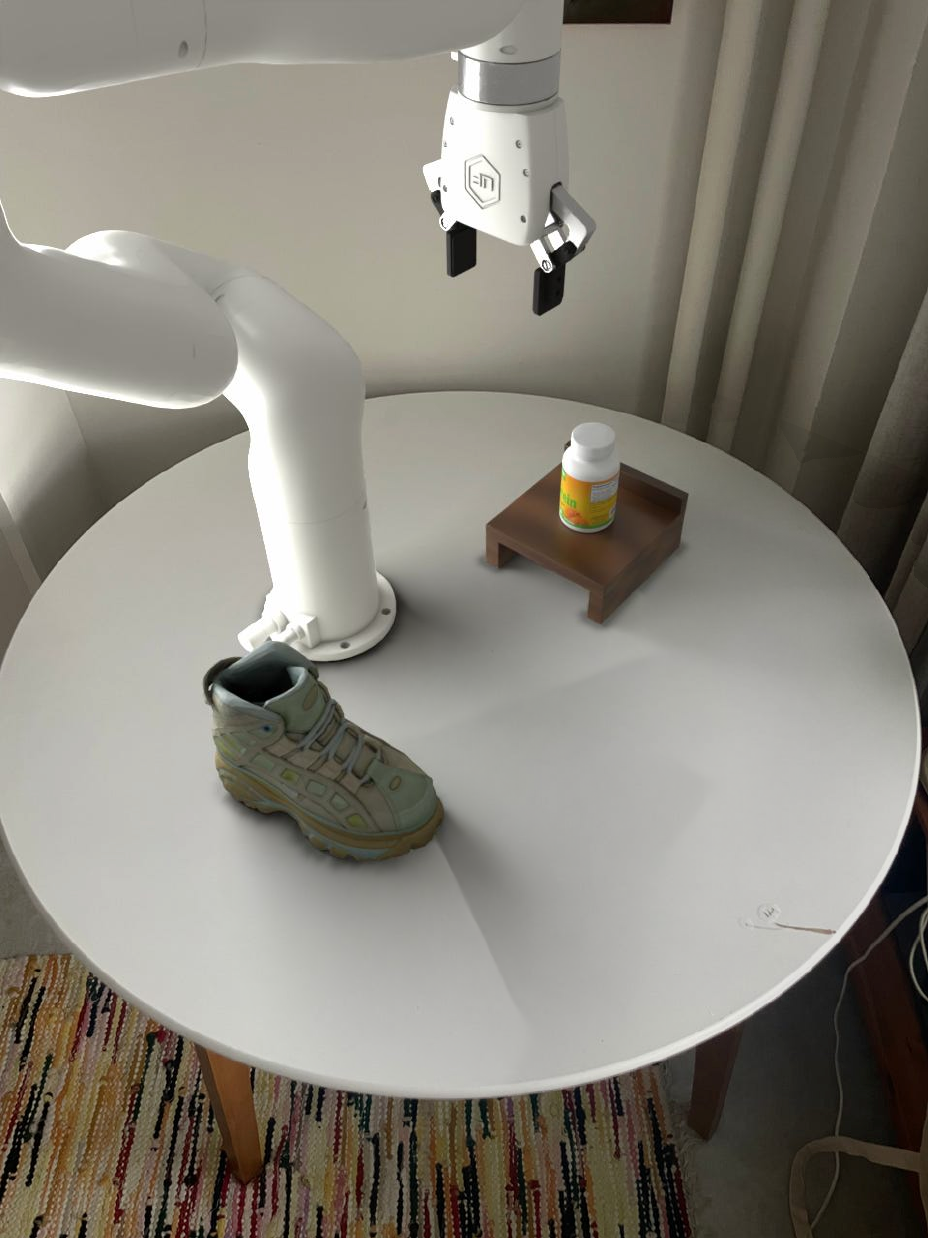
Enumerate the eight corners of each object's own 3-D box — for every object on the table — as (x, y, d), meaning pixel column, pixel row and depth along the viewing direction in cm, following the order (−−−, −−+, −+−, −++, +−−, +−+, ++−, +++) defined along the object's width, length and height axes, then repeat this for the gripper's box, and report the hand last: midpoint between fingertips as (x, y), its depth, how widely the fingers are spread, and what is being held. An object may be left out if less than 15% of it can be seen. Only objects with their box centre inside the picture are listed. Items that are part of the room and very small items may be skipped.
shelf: (600, 625, 97) (606, 571, 92) (485, 561, 103) (485, 508, 98) (679, 546, 104) (688, 493, 99) (567, 491, 111) (571, 438, 106)
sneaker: (373, 915, 77) (364, 786, 67) (197, 789, 85) (166, 659, 75) (461, 823, 83) (464, 693, 73) (290, 715, 92) (272, 586, 82)
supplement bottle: (549, 507, 101) (553, 426, 94) (597, 492, 103) (605, 411, 96) (574, 540, 98) (581, 458, 91) (624, 525, 99) (634, 443, 92)
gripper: (389, 60, 78) (401, 272, 90) (568, 118, 70) (554, 342, 82) (457, 36, 82) (459, 243, 94) (634, 88, 73) (611, 307, 86)
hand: (503, 289), depth 88 cm, fingers open, 9 cm apart
